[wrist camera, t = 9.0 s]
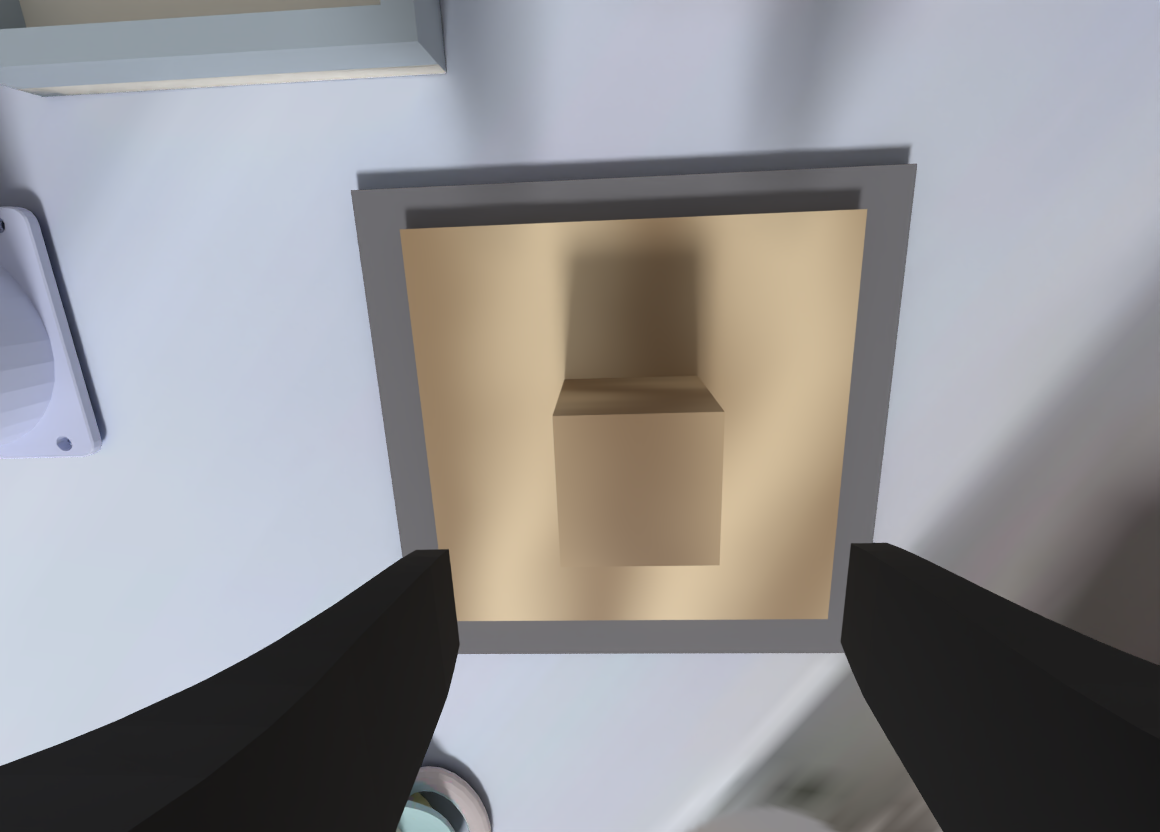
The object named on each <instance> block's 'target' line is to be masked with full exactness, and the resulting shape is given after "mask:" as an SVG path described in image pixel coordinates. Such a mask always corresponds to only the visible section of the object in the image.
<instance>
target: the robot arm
mask: <svg viewBox="0 0 1160 832" xmlns="http://www.w3.org/2000/svg"><path fill="white" fill-rule="evenodd" d="M2 220H3V222H4V224H5V230H4V229H3V227H2V224H1V221H2ZM67 438H68V439H69V440H70V441H71V443H72V445H70V444H69V442H68V440H67ZM101 446H102V441H101V437H100V433H99V430H98V426H97V423H96V419H95V416H94V412H93V409H92V405H91V402H90V399H89V395H88V392H87V388H86V385H85V381H84V378H83V374H82V371H81V367H80V364H79V361H78V357H77V354H76V350H75V347H74V343H73V340H72V336H71V333H70V329H69V326H68V322H67V319H66V316H65V312H64V309H63V305H62V302H61V298H60V295H59V291H58V288H57V284H56V281H55V277H54V274H53V271H52V267H51V264H50V260H49V257H48V253H47V250H46V246H45V243H44V239H43V236H42V233H41V229H40V226H39V223H38V221H37V219H36V217H35V216H34V215H33V213H32V212H31V211H29V210H27V209H25V208H21V207H11V206H5V207H0V459H12V458H58V457H86V456H90V455H92V454H95V453H97V452H98V451H99V450H100V449H101ZM840 642H841V645H842V647H843V650H844V652H845V655H846V657H847V659H848V662H849V664H850V667H851V669H852V672H853V674H854V676H855V678H856V681H857V683H858V685H859V687H860V690H861V692H862V694H863V696H864V698H865V700H866V702H867V703H868V705H869V707H870V709H871V710H872V712H873V714H874V716H875V717H876V719H877V721H878V722H879V724H880V726H881V728H882V729H883V731H884V733H885V734H886V736H887V738H888V740H889V741H890V743H891V745H892V746H893V748H894V750H895V751H896V753H897V755H898V756H899V758H900V760H901V761H902V763H903V765H904V767H905V768H906V770H907V772H908V773H909V775H910V777H911V778H912V780H913V782H914V783H915V785H916V787H917V788H918V790H919V792H920V793H921V795H922V797H923V799H924V800H925V802H926V804H927V805H928V807H929V809H930V810H931V812H932V814H933V815H934V817H935V819H936V820H937V822H938V824H939V825H940V827H941V829H942V831H943V832H1160V666H1159V665H1156V664H1154V663H1151V662H1149V661H1146V660H1143V659H1141V658H1138V657H1136V656H1133V655H1130V654H1128V653H1125V652H1123V651H1121V650H1118V649H1116V648H1113V647H1111V646H1108V645H1106V644H1104V643H1101V642H1099V641H1097V640H1094V639H1092V638H1090V637H1087V636H1085V635H1083V634H1081V633H1078V632H1076V631H1074V630H1072V629H1069V628H1067V627H1065V626H1063V625H1061V624H1058V623H1056V622H1054V621H1052V620H1049V619H1047V618H1045V617H1043V616H1041V615H1038V614H1036V613H1034V612H1032V611H1030V610H1028V609H1026V608H1023V607H1021V606H1019V605H1017V604H1015V603H1013V602H1011V601H1009V600H1007V599H1005V598H1003V597H1001V596H999V595H996V594H994V593H992V592H990V591H988V590H986V589H984V588H982V587H980V586H978V585H976V584H974V583H972V582H970V581H968V580H966V579H964V578H962V577H960V576H958V575H956V574H954V573H952V572H950V571H948V570H946V569H944V568H942V567H940V566H938V565H936V564H934V563H932V562H930V561H928V560H925V559H923V558H921V557H919V556H917V555H915V554H913V553H910V552H908V551H906V550H904V549H901V548H899V547H896V546H894V545H891V544H888V543H851V547H850V557H849V566H848V575H847V585H846V594H845V604H844V613H843V622H842V632H841V641H840ZM459 646H460V641H459V632H458V624H457V615H456V606H455V598H454V589H453V581H452V572H451V563H450V555H449V549H429V550H415V551H413V552H411V553H409V554H408V555H406V556H405V557H403V558H401V559H400V560H398V561H397V562H395V563H394V564H392V565H391V566H389V567H388V568H387V569H385V570H384V571H382V572H381V573H379V574H378V575H376V576H375V577H374V578H372V579H371V580H369V581H368V582H366V583H365V584H363V585H362V586H361V587H359V588H358V589H356V590H355V591H353V592H352V593H350V594H349V595H347V596H346V597H345V598H343V599H342V600H340V601H339V602H337V603H336V604H334V605H333V606H331V607H330V608H328V609H327V610H325V611H323V612H322V613H320V614H319V615H317V616H316V617H314V618H312V619H311V620H309V621H308V622H306V623H304V624H303V625H301V626H300V627H298V628H297V629H295V630H293V631H292V632H290V633H289V634H287V635H285V636H284V637H282V638H281V639H279V640H277V641H276V642H274V643H272V644H271V645H269V646H267V647H265V648H264V649H262V650H260V651H258V652H257V653H255V654H253V655H251V656H249V657H248V658H246V659H244V660H242V661H240V662H238V663H236V664H235V665H233V666H231V667H229V668H227V669H225V670H223V671H221V672H219V673H217V674H216V675H214V676H212V677H210V678H208V679H206V680H204V681H202V682H200V683H198V684H196V685H194V686H192V687H189V688H187V689H185V690H183V691H181V692H178V693H176V694H174V695H172V696H170V697H168V698H165V699H163V700H161V701H159V702H157V703H154V704H152V705H150V706H148V707H146V708H144V709H141V710H139V711H137V712H135V713H133V714H130V715H128V716H126V717H124V718H122V719H119V720H117V721H115V722H112V723H110V724H108V725H105V726H103V727H100V728H98V729H95V730H93V731H90V732H88V733H86V734H83V735H81V736H78V737H76V738H73V739H71V740H68V741H66V742H63V743H61V744H58V745H55V746H53V747H50V748H47V749H45V750H42V751H40V752H37V753H34V754H32V755H29V756H26V757H24V758H21V759H18V760H16V761H13V762H10V763H8V764H5V765H2V766H0V832H396V830H397V827H398V824H399V821H400V819H401V816H402V814H403V811H404V808H405V806H406V803H407V801H408V798H409V796H410V793H411V790H412V788H413V785H414V783H415V780H416V777H417V775H418V772H419V770H420V767H421V764H422V762H423V759H424V757H425V754H426V752H427V749H428V746H429V744H430V741H431V739H432V736H433V733H434V731H435V728H436V725H437V723H438V720H439V717H440V715H441V712H442V709H443V707H444V704H445V701H446V699H447V695H448V692H449V688H450V684H451V680H452V676H453V672H454V668H455V663H456V659H457V655H458V650H459Z"/></svg>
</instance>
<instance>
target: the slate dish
mask: <svg viewBox="0 0 1160 832" xmlns="http://www.w3.org/2000/svg"><path fill="white" fill-rule="evenodd" d="M444 73H446V64H445V53H444V42H443V31H442V20H441V10H440V0H0V85H3V86H6V87H10V88H13V89H17V90H21V91H24V92H28V93H31V94H35V95H39V96H42V97H48V96H65V95H82V94H99V93H117V92H134V91H151V90H168V89H186V88H203V87H220V86H237V85H255V84H272V83H289V82H306V81H324V80H341V79H358V78H375V77H393V76H410V75H427V74H444Z"/></svg>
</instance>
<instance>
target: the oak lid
mask: <svg viewBox="0 0 1160 832" xmlns="http://www.w3.org/2000/svg"><path fill="white" fill-rule="evenodd" d="M866 218H867V209H857V210H834V211H811V212H788V213H765V214H742V215H719V216H696V217H673V218H650V219H627V220H604V221H581V222H558V223H535V224H512V225H489V226H466V227H443V228H420V229H400V236H401V244H402V252H403V261H404V269H405V277H406V285H407V294H408V302H409V310H410V318H411V327H412V335H413V343H414V351H415V360H416V368H417V376H418V384H419V393H420V401H421V409H422V417H423V426H424V434H425V442H426V450H427V459H428V467H429V475H430V483H431V492H432V500H433V508H434V516H435V525H436V533H437V541H438V549H449V555H450V563H451V572H452V581H453V589H454V598H455V606H456V615H457V621H571V620H748V619H828V611H829V600H830V590H831V580H832V569H833V559H834V549H835V538H836V528H837V518H838V507H839V497H840V487H841V476H842V466H843V456H844V445H845V435H846V425H847V414H848V404H849V394H850V383H851V373H852V363H853V352H854V342H855V332H856V321H857V311H858V301H859V290H860V280H861V270H862V259H863V249H864V239H865V228H866Z"/></svg>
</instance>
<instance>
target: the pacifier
mask: <svg viewBox="0 0 1160 832" xmlns="http://www.w3.org/2000/svg"><path fill="white" fill-rule="evenodd" d="M422 791H428V792H435V793H437V794H439V795H442V796H444V797H445V798H447V799H448V800H449V801H451V802H452V803H453V804H454V805H455V806H456V807H457V809H458V810H459V811H460V812H461V814H462V815H463V817H464V819H465V821H466V823H467V826H468V829H469V832H491V825H490V821H489V818H488V815H487V812H486V809H485V807H484V805H483V803H482V801H481V799H480V798H479V796H478V794H477V793H476V792H475V791H474V790H473V789H472V787H471V786H470V785H469V784H468V783H467V782H466V781H465V780H463V779H462V778H461V777H459V776H458V775H456V774H455V773H453V772H451V771H448V770H446V769H443V768H441V767H432V766H425V767H420V770H419V772H418V775H417V777H416V780H415V783H414V785H413V788H412V790H411V793H410V796H409V798H408V801H407V803H406V806H405V808H404V811H403V814H402V816H401V819H400V821H399V824H398V827H397V830H396V832H455V831H454V829H453V827H452V826H451V824H450V823H449V822H448V820H447V819H446V818H445V817H443V816H442V815H441V814H440V813H439V812H437V811H435V810H434V809H432V807H431V806H430V804H429V803H428V801H427V800H426V799H425V798H424V797H423V796H422V795H421V794H420V793H418V792H422Z"/></svg>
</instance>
